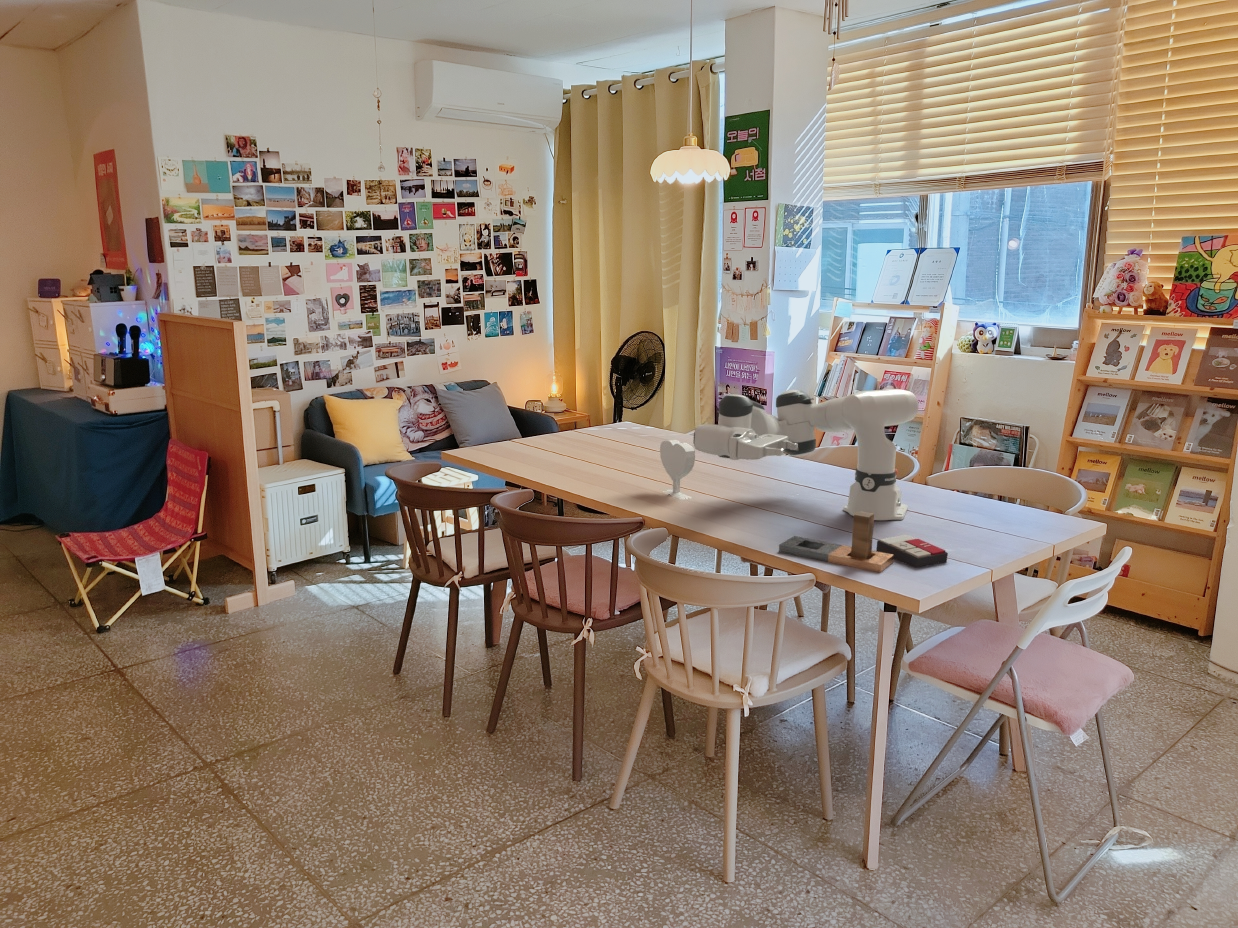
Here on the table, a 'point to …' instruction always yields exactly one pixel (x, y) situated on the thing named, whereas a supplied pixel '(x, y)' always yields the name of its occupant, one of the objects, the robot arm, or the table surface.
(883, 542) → the calculator
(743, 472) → the table surface
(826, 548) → the peg board
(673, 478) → the heart sculpture
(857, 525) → the walnut peg
